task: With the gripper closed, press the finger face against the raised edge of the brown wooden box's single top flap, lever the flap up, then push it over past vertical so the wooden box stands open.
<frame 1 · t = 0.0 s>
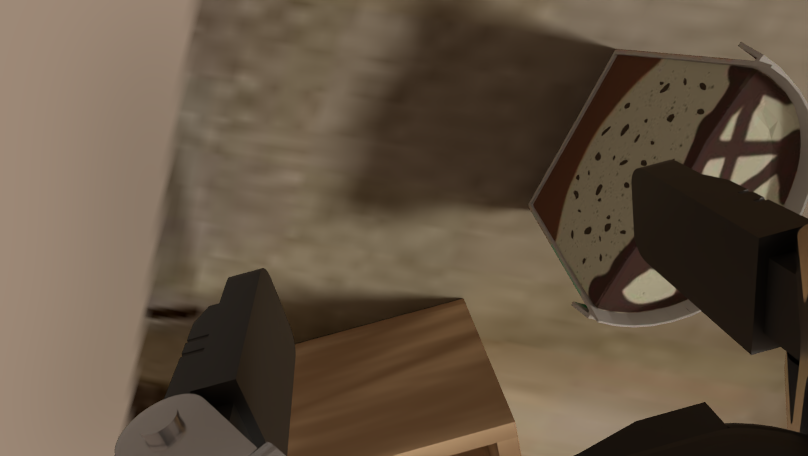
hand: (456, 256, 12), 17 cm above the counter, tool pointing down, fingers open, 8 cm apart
food container: (612, 150, 30), on the counter
wooden box: (370, 423, 37), on the counter
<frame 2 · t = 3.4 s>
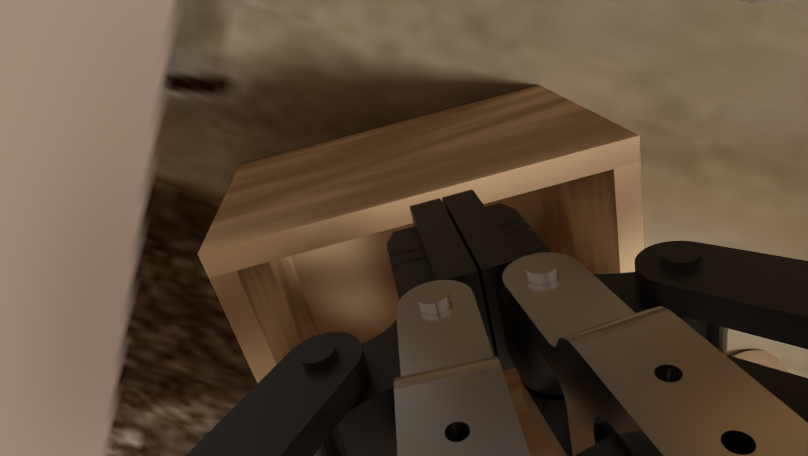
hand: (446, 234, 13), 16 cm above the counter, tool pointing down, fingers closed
beer glass: (737, 381, 39), on the counter
wooden box: (422, 256, 31), on the counter
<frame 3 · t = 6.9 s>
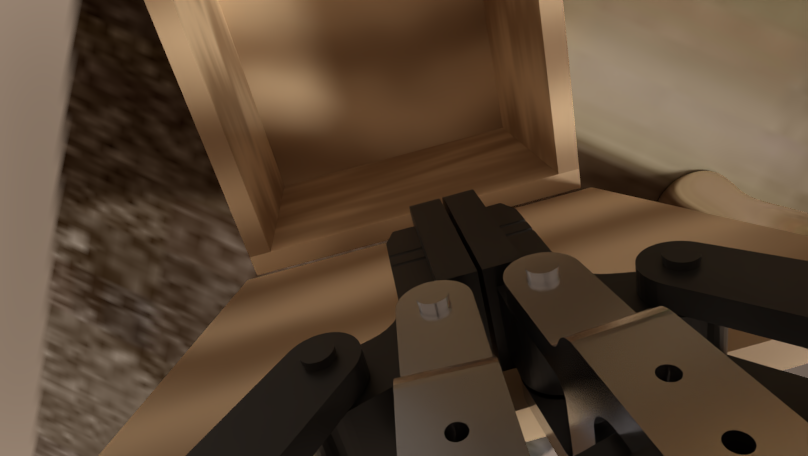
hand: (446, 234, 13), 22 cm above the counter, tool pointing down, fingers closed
carton flap: (447, 288, 17), point 18 cm above the counter, hinge at 74.7°, touching hand
beer glass: (690, 208, 39), on the counter
wooden box: (363, 39, 31), on the counter
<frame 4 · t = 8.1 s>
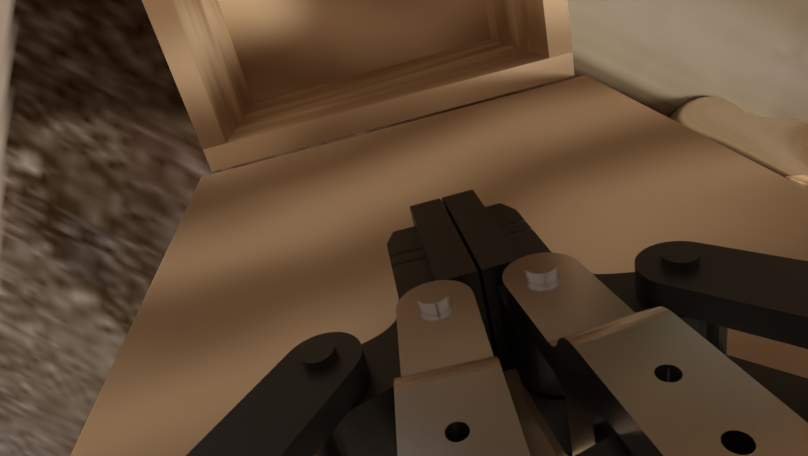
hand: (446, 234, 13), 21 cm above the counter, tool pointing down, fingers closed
carton flap: (434, 223, 16), point 18 cm above the counter, hinge at 94.5°, touching gripper
beer glass: (695, 140, 36), on the counter
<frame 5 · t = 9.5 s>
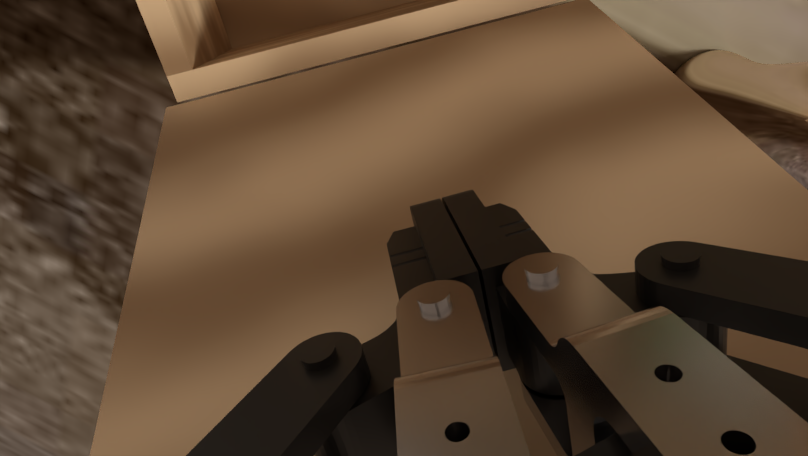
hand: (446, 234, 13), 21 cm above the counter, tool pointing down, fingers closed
carton flap: (428, 196, 15), point 18 cm above the counter, hinge at 110.8°, touching gripper
beer glass: (703, 99, 34), on the counter
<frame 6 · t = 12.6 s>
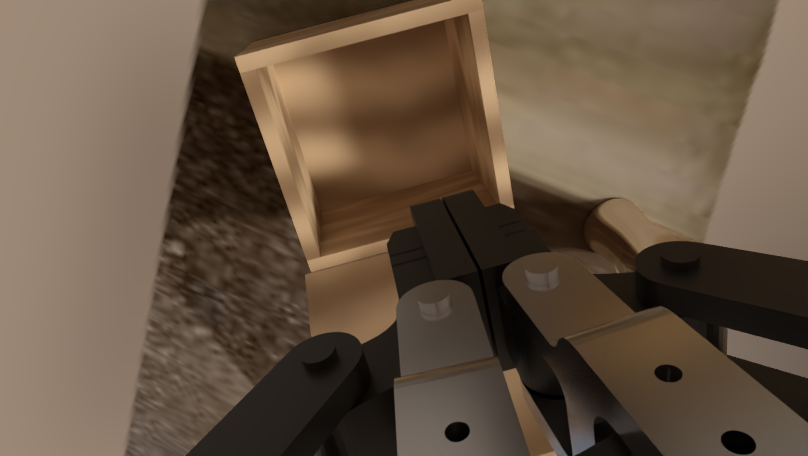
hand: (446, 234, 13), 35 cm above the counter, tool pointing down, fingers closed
carton flap: (442, 341, 35), point 18 cm above the counter, hinge at 110.8°
beer glass: (611, 225, 54), on the counter
wooden box: (376, 113, 46), on the counter
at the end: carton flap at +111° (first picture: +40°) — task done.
